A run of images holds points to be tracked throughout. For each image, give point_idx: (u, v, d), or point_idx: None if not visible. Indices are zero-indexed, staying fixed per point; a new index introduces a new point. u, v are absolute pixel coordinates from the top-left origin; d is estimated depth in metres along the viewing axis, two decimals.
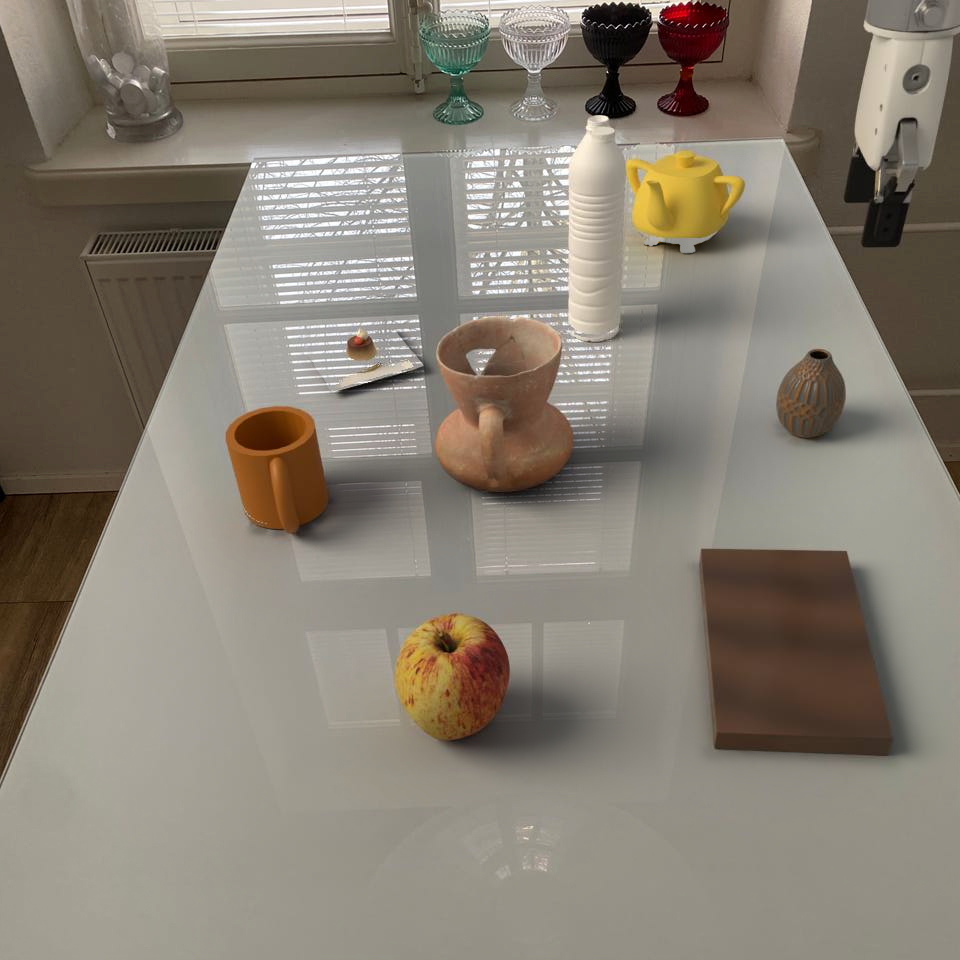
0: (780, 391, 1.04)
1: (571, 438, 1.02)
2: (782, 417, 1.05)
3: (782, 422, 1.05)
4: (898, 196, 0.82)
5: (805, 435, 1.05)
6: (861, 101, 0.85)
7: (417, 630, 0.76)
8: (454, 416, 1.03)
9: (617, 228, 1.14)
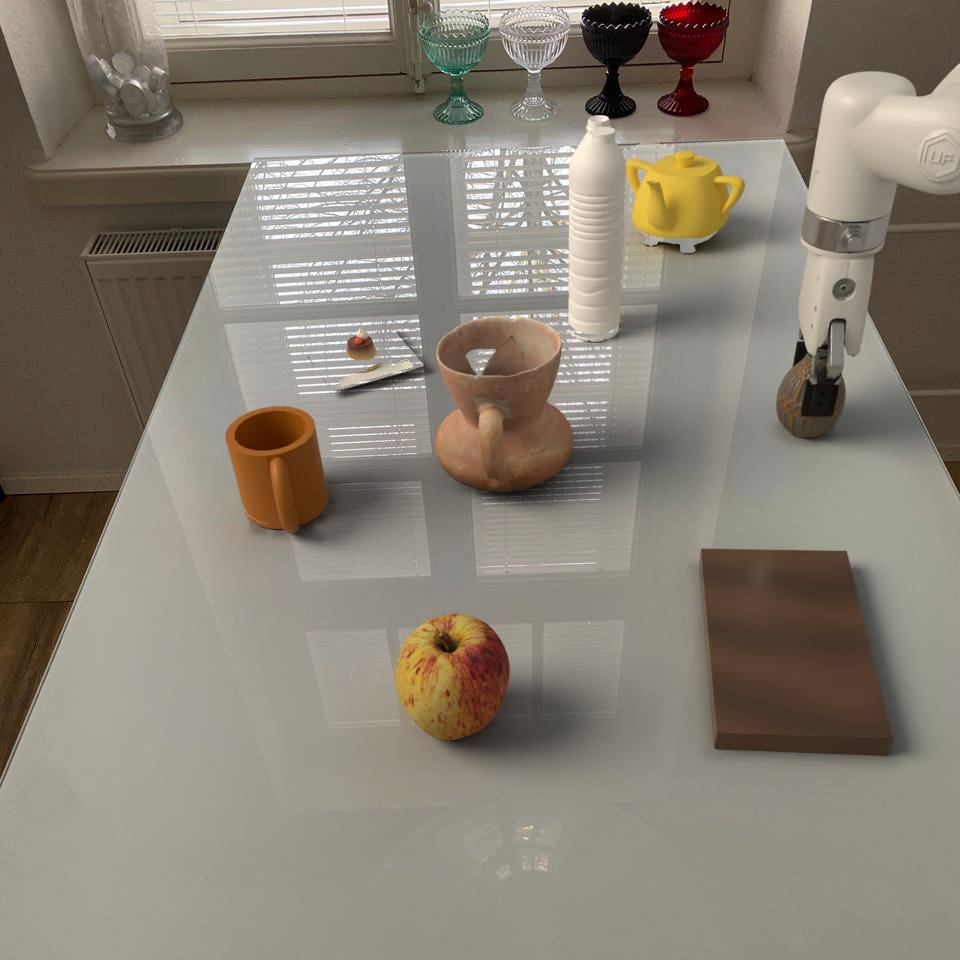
0: (780, 391, 1.04)
1: (571, 438, 1.02)
2: (782, 417, 1.05)
3: (782, 422, 1.05)
4: (829, 381, 0.97)
5: (805, 435, 1.05)
6: (802, 292, 0.99)
7: (417, 630, 0.76)
8: (454, 416, 1.03)
9: (617, 228, 1.14)
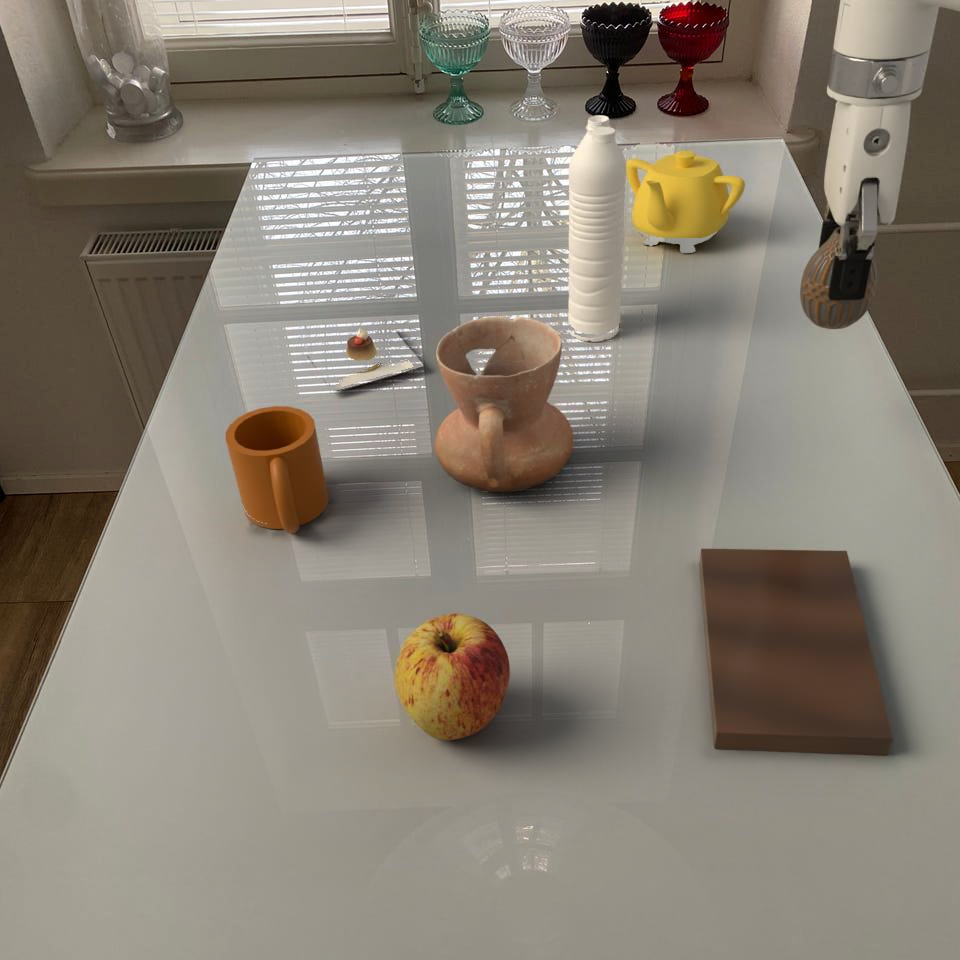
0: (804, 276, 0.94)
1: (571, 438, 1.02)
2: (807, 306, 0.95)
3: (807, 312, 0.95)
4: (860, 254, 0.87)
5: (832, 325, 0.95)
6: (828, 159, 0.89)
7: (417, 630, 0.76)
8: (454, 416, 1.03)
9: (617, 228, 1.14)
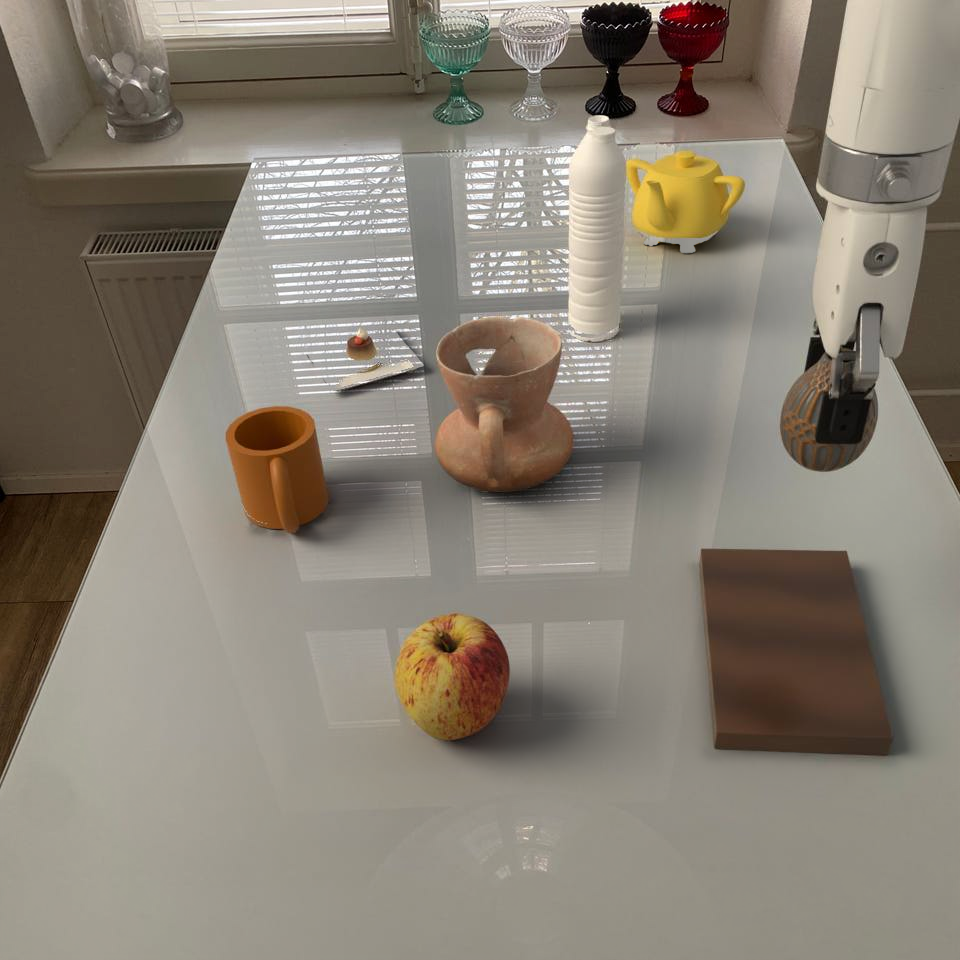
0: (785, 407, 0.74)
1: (571, 438, 1.02)
2: (788, 443, 0.75)
3: (788, 450, 0.75)
4: (856, 394, 0.67)
5: (820, 468, 0.75)
6: (818, 267, 0.69)
7: (417, 630, 0.76)
8: (454, 416, 1.03)
9: (617, 228, 1.14)
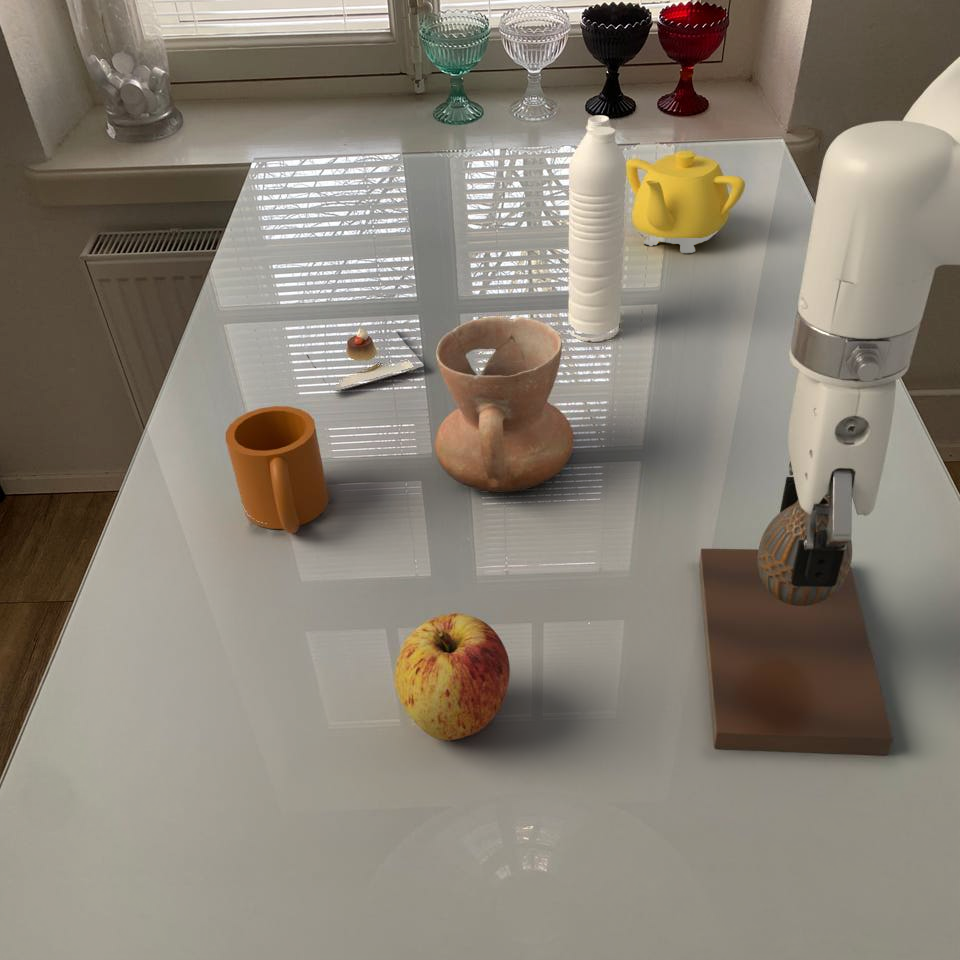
0: (762, 546, 0.76)
1: (571, 438, 1.02)
2: (765, 580, 0.77)
3: (765, 585, 0.77)
4: (830, 548, 0.69)
5: (796, 604, 0.77)
6: (792, 419, 0.71)
7: (417, 630, 0.76)
8: (454, 416, 1.03)
9: (617, 228, 1.14)
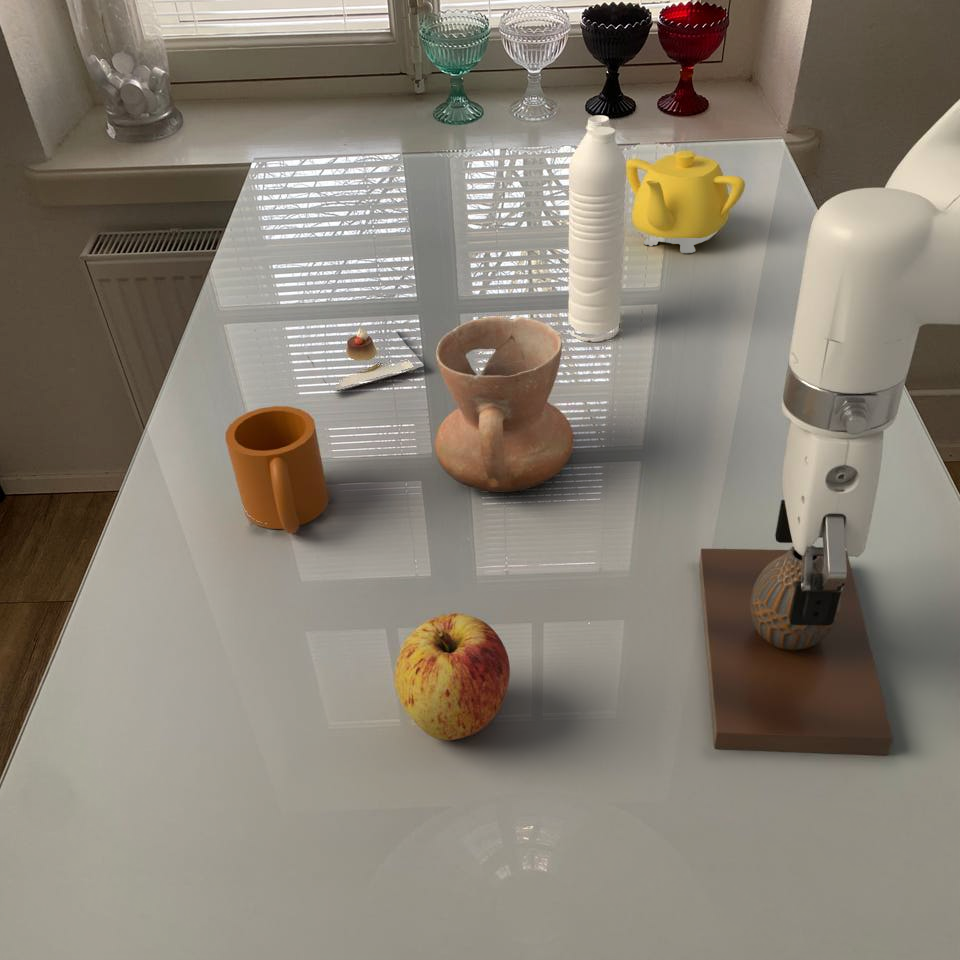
0: (755, 594, 0.80)
1: (571, 438, 1.02)
2: (757, 626, 0.80)
3: (758, 630, 0.81)
4: (827, 590, 0.70)
5: (787, 649, 0.80)
6: (786, 463, 0.74)
7: (417, 630, 0.76)
8: (454, 416, 1.03)
9: (617, 228, 1.14)
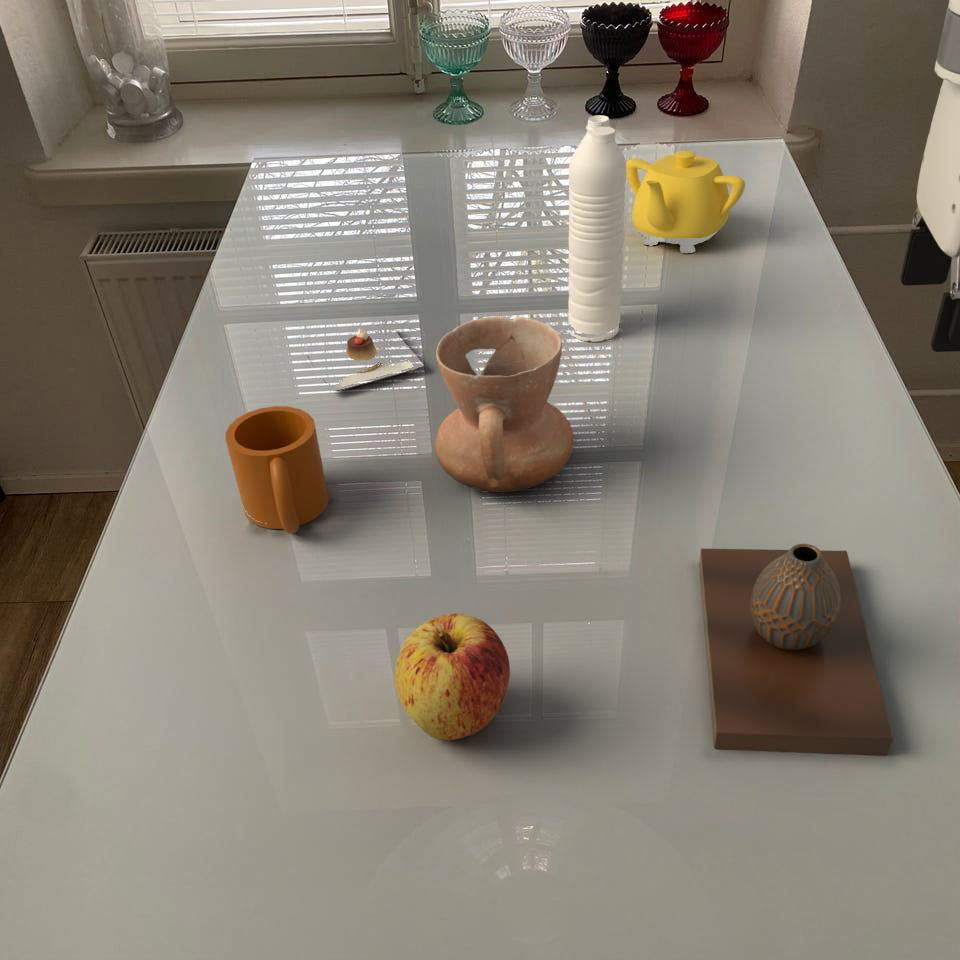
0: (755, 594, 0.80)
1: (571, 438, 1.02)
2: (757, 626, 0.80)
3: (758, 630, 0.81)
4: None
5: (787, 649, 0.80)
6: (928, 164, 0.65)
7: (417, 630, 0.76)
8: (454, 416, 1.03)
9: (617, 228, 1.14)
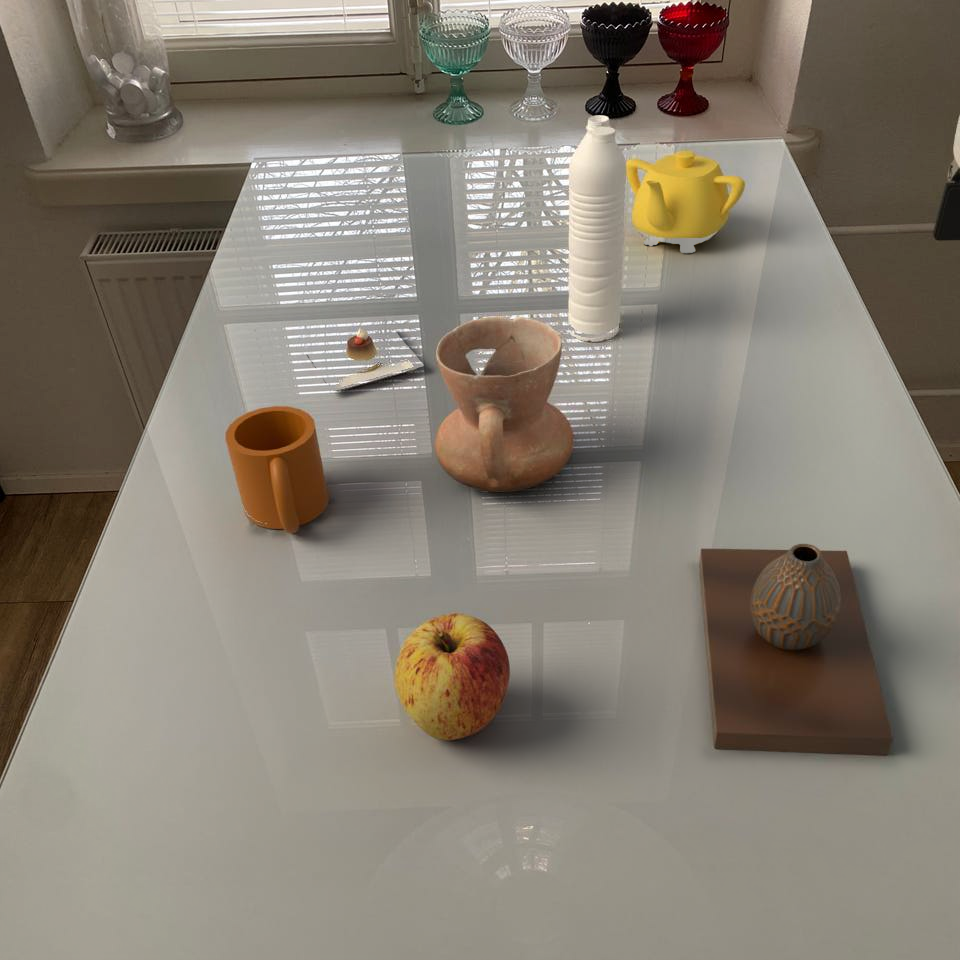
0: (755, 594, 0.80)
1: (571, 438, 1.02)
2: (757, 626, 0.80)
3: (758, 630, 0.81)
4: None
5: (787, 649, 0.80)
6: None
7: (417, 630, 0.76)
8: (454, 416, 1.03)
9: (617, 228, 1.14)
